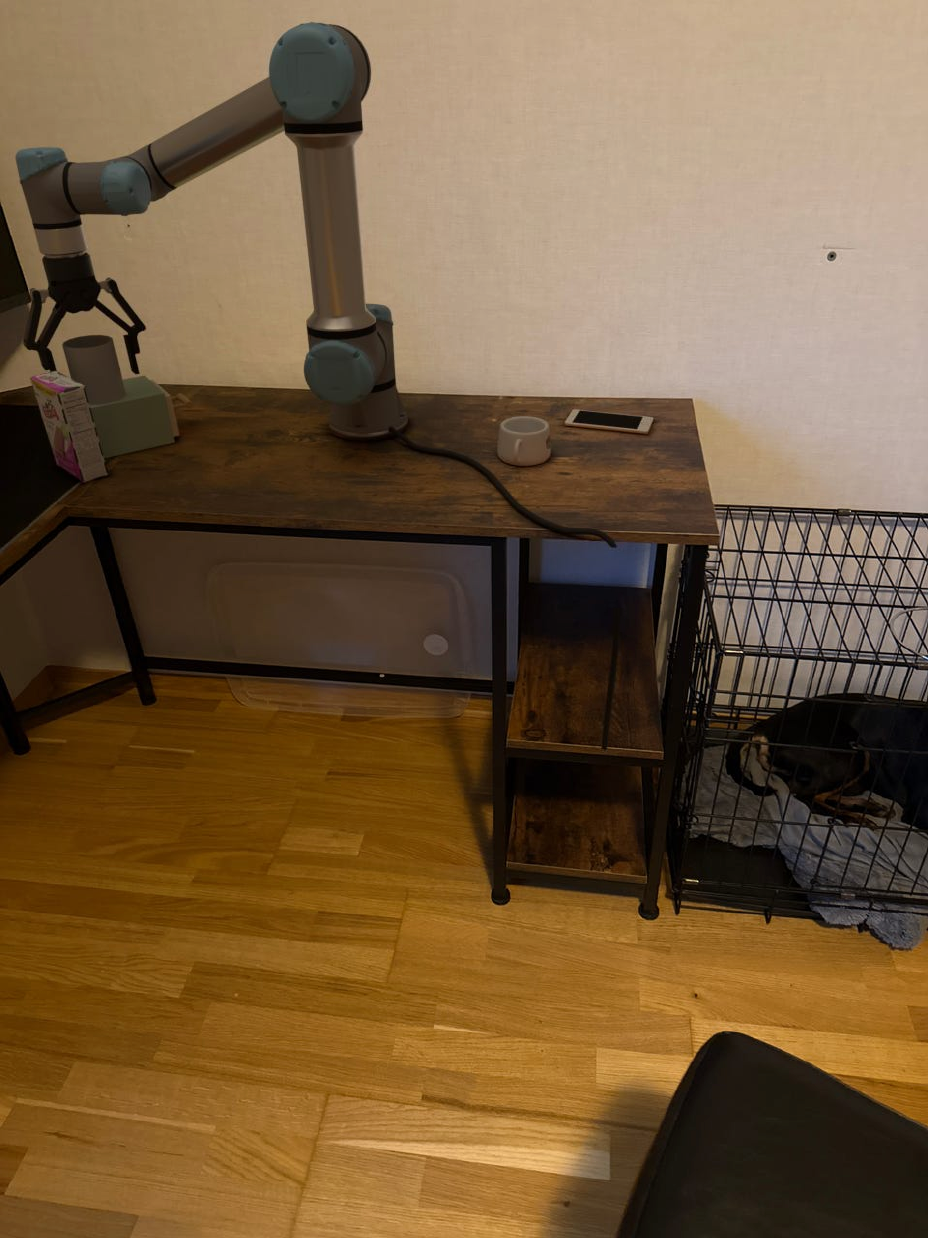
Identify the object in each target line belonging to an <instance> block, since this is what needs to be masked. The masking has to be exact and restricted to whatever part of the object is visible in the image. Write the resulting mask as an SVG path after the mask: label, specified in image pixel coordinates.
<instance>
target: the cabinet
mask: <svg viewBox="0 0 928 1238" xmlns="http://www.w3.org/2000/svg"><path fill="white" fill-rule="evenodd" d="M122 379H123V384H124V388H125V392H126V395H125V397H124V398H122V399H120V400H118V401H115V402H112V403H108V404H101V405H90V408H91V412H92V416H93V419H94V423H95V427H96V431H97V434H98V438H99V442H100V445H101V449H102V453H103V456H104V459H108V458H113V457H117V456H121V455H126V454H129V453H134V452H139V451H143V450H147V449H152V448H156V447H162V446H164V445H170V444H173V443H176V441H175V440H176V439H175V437H174V435H173V430H172V426H171V421H170V416H169V412H168V407H167V402H166V398H165V393H164V392H163V391H162V390H160V389H159V388H158V387H157V386H156V385H155V384H154V383H152V382H151V381H150V380H151V379H149V378H148V377H147V376H146V375H140V376H134V377H128V378H122Z"/></svg>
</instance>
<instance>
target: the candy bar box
mask: <svg viewBox="0 0 928 1238" xmlns="http://www.w3.org/2000/svg"><path fill="white" fill-rule="evenodd" d="M29 380H30V383H31V386H32V390H33V392H34V396H35V399H36V402H37V405H38V409H39V413H40V416H41V419H42V421H43V425H44V428H45V430H46V434H47V438H48V441H49V444H50V448H51V450H52V454H53V457H54V460H55V464H56V466H57V467H59V468H61V469H62V470H64V471H65V472H66V473H68V474H70V475H71V476H73V477H74V478H76V479H77V480H79V481H80V482H82V483H83V484H85V483H89V482H92V481H95V480H97V479H101V478H104V477H107V476H109V472H108V468H107V464H106V459H105V458H104V456H103V453H102V449H101V445H100V442H99V438H98V434H97V431H96V427H95V423H94V419H93V416H92V412H91V408H90V405H89V401H88V398H87V394H86V390H85V386H84V385H82V384H80V383H78V382H76V381H75V380H73V379H71V377H70V376H69V377H68V376H67V375H65V374H63V373H61V372H60V371H58V370H57V371H53V372H50V371H49V372H44V373H40V374H35V375H33V376H30V377H29Z"/></svg>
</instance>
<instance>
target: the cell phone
mask: <svg viewBox="0 0 928 1238" xmlns="http://www.w3.org/2000/svg"><path fill="white" fill-rule="evenodd" d="M653 422H654V417H653V416H647V415H646V416H645V415H637V414H636V415H635V414H626V413H617V412H616V413H615V412H608V411H607V412H605V411H597V410H587V409H585V410H584V409H574V408H573V409H572V411H570V413H569V415H568V417H567V418H566V420H564V426H568V427H578V428H588V429H595V430H596V429H597V430H604V431H605V430H607V431H615V432H625V433H634V434H644V435H647V434H649V432H650V429H651V427H652V426H653V425H652V424H653Z"/></svg>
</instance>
